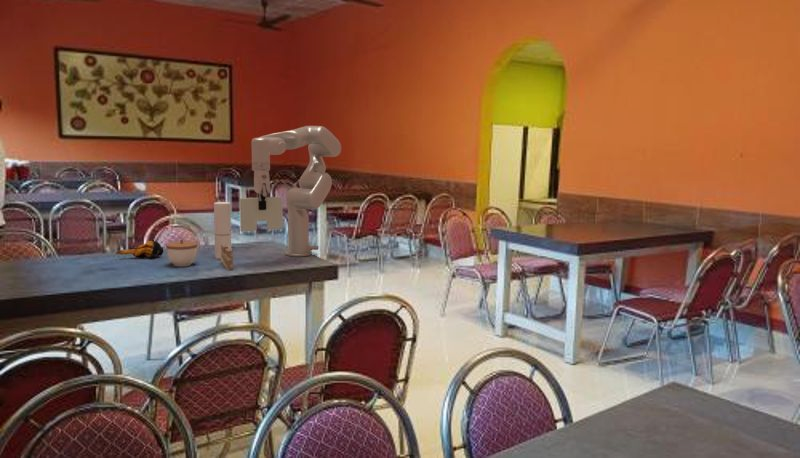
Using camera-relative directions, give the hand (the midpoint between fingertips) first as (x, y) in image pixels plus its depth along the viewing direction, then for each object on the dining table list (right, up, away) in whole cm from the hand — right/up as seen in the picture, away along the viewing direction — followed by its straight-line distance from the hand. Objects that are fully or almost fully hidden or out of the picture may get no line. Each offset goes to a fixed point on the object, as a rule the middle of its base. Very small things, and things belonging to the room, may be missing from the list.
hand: (261, 209), depth 265 cm
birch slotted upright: (-14, -24, -3) cm, 28 cm away
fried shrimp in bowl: (-56, -22, +9) cm, 61 cm away
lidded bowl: (-34, -24, -2) cm, 41 cm away
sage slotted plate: (0, -9, +1) cm, 9 cm away
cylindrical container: (-21, -22, +15) cm, 34 cm away
